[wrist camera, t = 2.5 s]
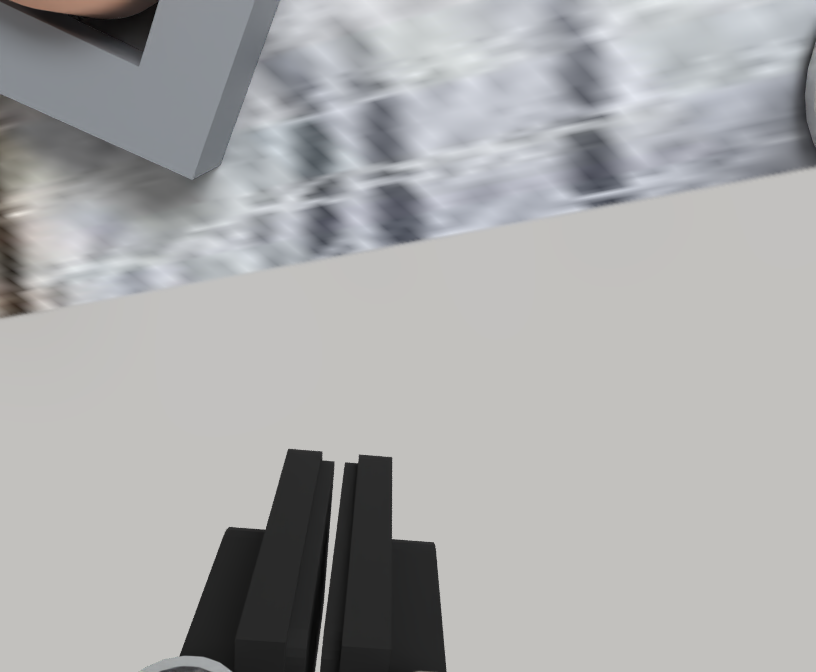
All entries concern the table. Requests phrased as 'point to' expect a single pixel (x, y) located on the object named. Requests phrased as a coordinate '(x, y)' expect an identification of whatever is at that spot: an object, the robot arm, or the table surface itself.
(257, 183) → the table surface
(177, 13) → the button base
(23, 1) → the button
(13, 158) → the table surface
